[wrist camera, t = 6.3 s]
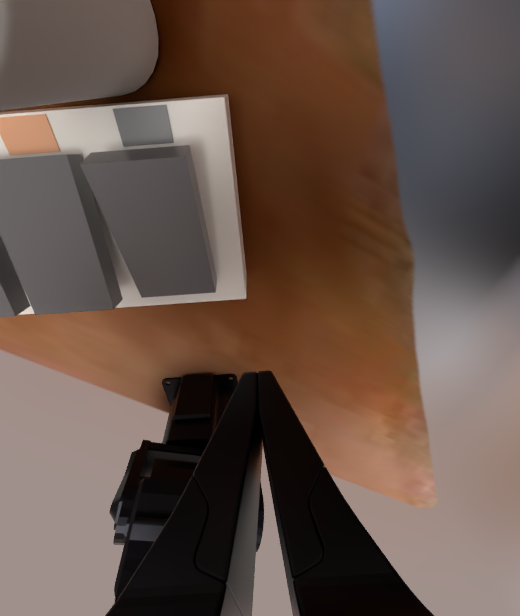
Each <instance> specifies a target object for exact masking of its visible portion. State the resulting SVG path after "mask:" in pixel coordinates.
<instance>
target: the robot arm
mask: <svg viewBox="0 0 520 616" xmlns="http://www.w3.org/2000/svg"><path fill="white" fill-rule="evenodd" d="M229 377H233V378H234V379H233V380H230V379H229ZM167 381H168V382H170V383H171V384H167V383H165V382H167ZM162 385H163V387H164V390H165V393H166V395H167V398H168V401H169V403H170V406H171V409H170V413H169V417H168V421H167V426H166V430H165V435H164V439H163V442H162V443H154V442H150V441H148V440H143V442H142V445H141V447H140V449H139V450H137V451H134V452H132V454H131V457H130V460H129V463H128V466H127V470H126V472H125V476H124V478H123V480H122V482H121V484H120V487H119V489H118V491H117V493H116V495H115V498H114V500H113V502H112V505H111V508H110V514H111V516H112V518H113V520H114V522H115V524H114V530H116V531H115V536H114V544H116V545H124V549H123V553H122V557H121V561H120V565H119V570H118V574H117V578H116V582H115V589H114V591H115V597H116V598H115V604H114V605H113V606H112V608H111V609H110V610H109V612H108V613H107V614H106V616H252V602H253V588H254V572H255V556H256V552H257V551H258V549H259V546H260V543H261V538H262V532H263V522H264V503H263V495H262V488H261V482H260V478H261V463H262V440H263V447H264V453H265V459H266V465H267V470H268V476H269V481H270V487H271V493H272V498H273V504H274V510H275V516H276V521H277V527H278V533H279V538H280V544H281V550H282V555H283V560H284V566H285V572H286V578H287V584H288V588H289V595H290V601H291V606H292V612H293V616H434V615H433V614H432V613H431V612H430V611H429V610H428V609H427V608H426V607H425V606H424V605H423V604H422V603H421V602H420V600H419V599H418V598H417V597H416V596H415V595H414V593H413V592H412V591H411V590H410V589H409V587H408V586H407V585H406V584H405V582H404V581H403V580H402V579H401V577H400V576H399V574H398V573H397V572H396V570H395V569H394V568H393V566H392V565H391V564H390V562H389V561H388V559H387V558H386V557H385V555H384V554H383V553H382V551H381V550H380V548H379V547H378V546H377V544H376V543H375V542H374V540H373V539H372V537H371V536H370V535H369V533H368V532H367V530H366V529H365V528H364V526H363V525H362V524H361V522H360V521H359V519H358V518H357V516H356V515H355V513H354V512H353V511H352V509H351V508H350V506H349V505H348V503H347V502H346V500H345V499H344V497H343V495H342V494H341V492H340V491H339V489H338V487H337V486H336V484H335V482H334V481H333V479H332V477H331V475H330V474H329V472H328V470H327V468H326V467H324V463H323V461H322V460H321V458H320V456H319V454H318V453H317V451H316V449H315V447H314V446H313V444H312V442H311V440H310V439H309V437H308V435H307V433H306V431H305V430H304V428H303V426H302V424H301V423H300V421H299V419H298V417H297V416H296V414H295V412H294V410H293V408H292V407H291V405H290V403H289V401H288V400H287V398H286V396H285V394H284V393H283V391H282V389H281V387H280V386H279V384H278V382H277V380H276V378H275V377H274V375H273V373H272V372H271V371H259V372H258V374H257V372H245V373H243V375H242V377H241V379H240V381H239V383H238V381H237V376H236V375H234V374H222V375H212V374H209V375H194V376H183V377H177V378H165V379H163V381H162Z"/></svg>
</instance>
